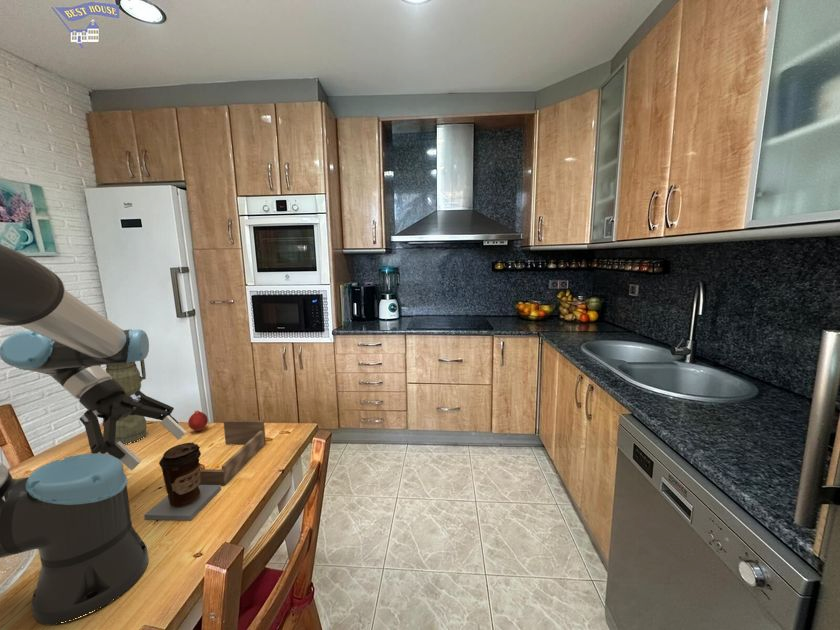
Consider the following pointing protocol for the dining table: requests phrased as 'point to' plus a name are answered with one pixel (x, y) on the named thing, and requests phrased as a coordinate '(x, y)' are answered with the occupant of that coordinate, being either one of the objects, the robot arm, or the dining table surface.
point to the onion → (198, 421)
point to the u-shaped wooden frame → (237, 434)
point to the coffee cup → (182, 473)
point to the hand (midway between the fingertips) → (161, 449)
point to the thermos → (131, 382)
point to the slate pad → (185, 512)
